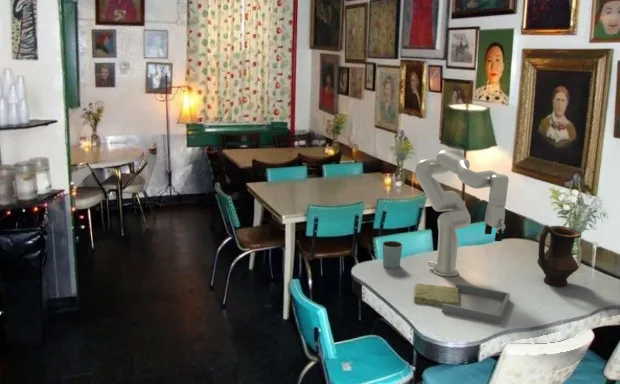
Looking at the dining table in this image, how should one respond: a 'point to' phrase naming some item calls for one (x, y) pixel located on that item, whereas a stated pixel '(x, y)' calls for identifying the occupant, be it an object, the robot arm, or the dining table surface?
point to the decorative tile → (436, 295)
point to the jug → (557, 254)
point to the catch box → (475, 313)
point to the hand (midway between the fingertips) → (492, 237)
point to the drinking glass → (391, 254)
